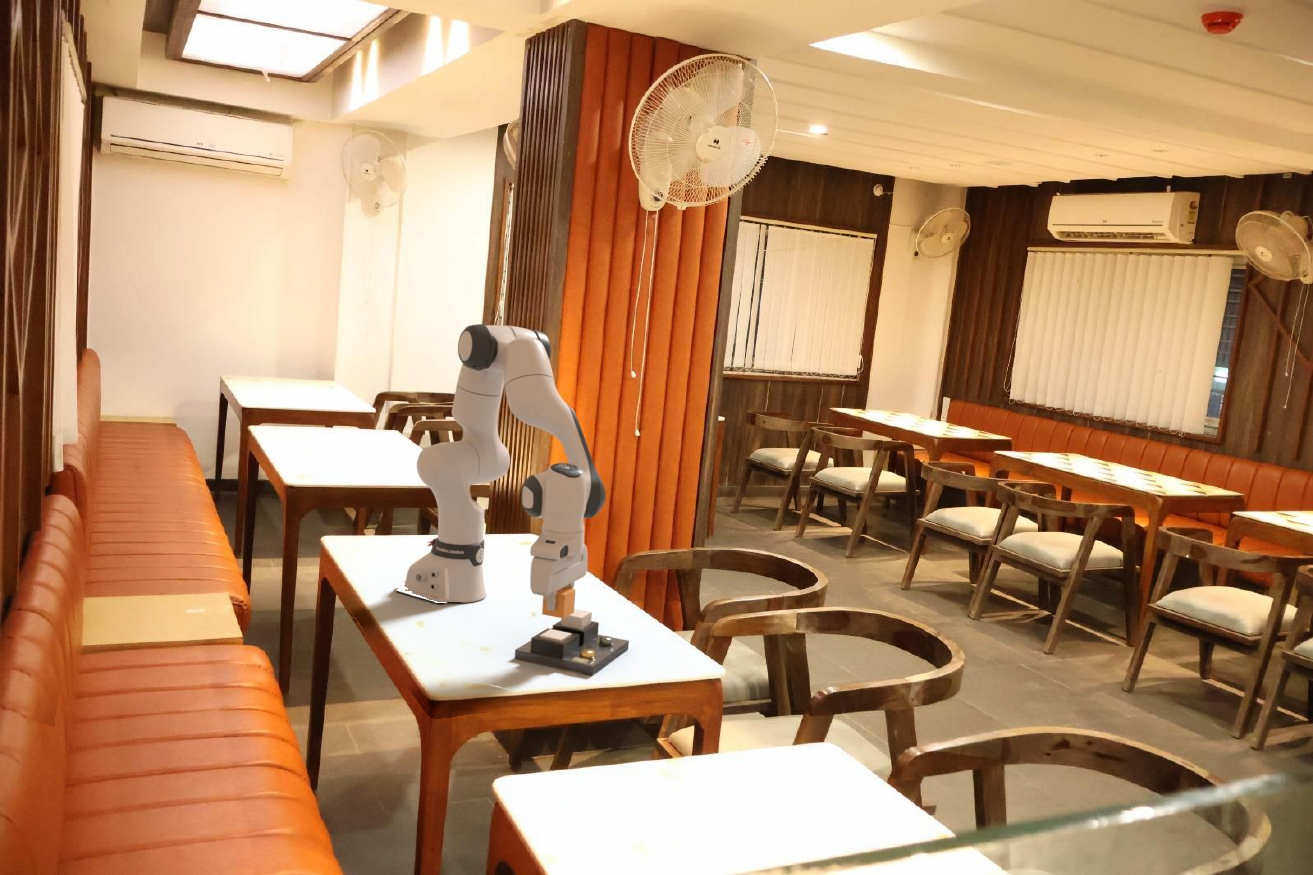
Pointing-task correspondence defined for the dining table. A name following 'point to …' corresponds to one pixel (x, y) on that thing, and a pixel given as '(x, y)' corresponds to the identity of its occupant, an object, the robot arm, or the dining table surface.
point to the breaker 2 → (577, 619)
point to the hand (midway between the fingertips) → (558, 606)
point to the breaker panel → (573, 650)
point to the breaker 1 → (555, 635)
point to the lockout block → (561, 603)
